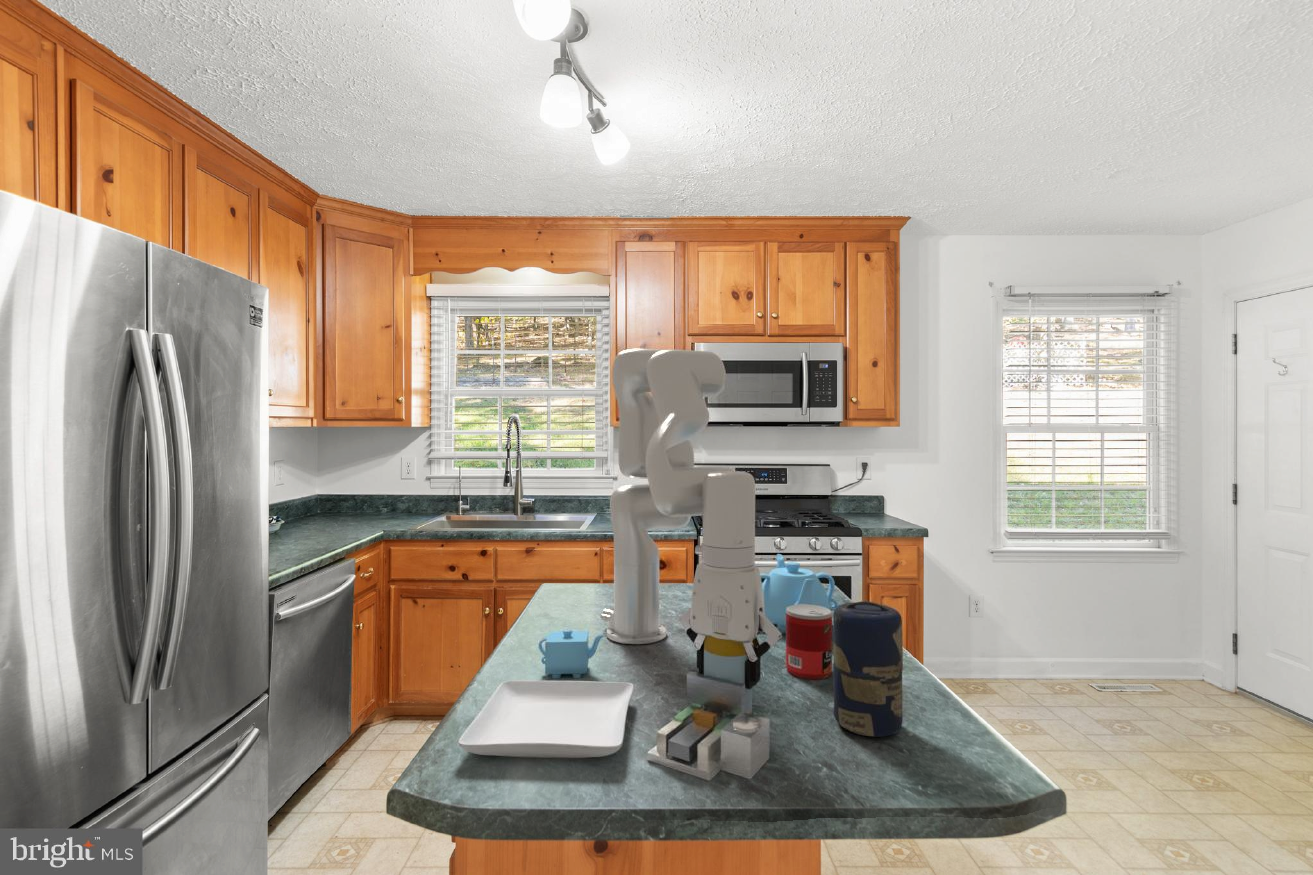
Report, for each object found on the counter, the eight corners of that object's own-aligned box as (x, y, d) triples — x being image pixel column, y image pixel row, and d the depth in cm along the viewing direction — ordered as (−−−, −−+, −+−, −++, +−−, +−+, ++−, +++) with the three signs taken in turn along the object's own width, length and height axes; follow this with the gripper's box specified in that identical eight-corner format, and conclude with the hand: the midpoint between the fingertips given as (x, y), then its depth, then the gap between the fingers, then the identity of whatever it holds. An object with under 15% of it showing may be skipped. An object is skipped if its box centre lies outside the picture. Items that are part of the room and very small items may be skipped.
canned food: (833, 681, 106) (833, 617, 106) (785, 677, 107) (785, 614, 107) (830, 665, 113) (830, 605, 113) (785, 662, 115) (785, 602, 115)
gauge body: (647, 760, 80) (647, 718, 80) (688, 727, 89) (688, 690, 89) (740, 791, 73) (740, 745, 73) (774, 752, 82) (774, 712, 82)
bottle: (757, 710, 91) (758, 608, 91) (744, 730, 85) (745, 621, 85) (713, 701, 94) (713, 602, 94) (696, 720, 88) (697, 615, 88)
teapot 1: (607, 665, 113) (607, 624, 113) (606, 678, 107) (606, 634, 107) (540, 667, 112) (540, 625, 112) (536, 680, 106) (536, 636, 106)
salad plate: (501, 698, 99) (501, 677, 99) (634, 701, 98) (634, 679, 98) (453, 769, 78) (454, 742, 78) (622, 773, 77) (622, 746, 77)
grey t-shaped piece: (650, 748, 80) (650, 697, 80) (690, 717, 89) (691, 671, 89) (708, 767, 75) (708, 713, 75) (744, 732, 84) (745, 683, 84)
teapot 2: (778, 610, 149) (778, 552, 149) (853, 628, 135) (853, 564, 135) (736, 624, 138) (736, 561, 138) (812, 645, 124) (812, 575, 124)
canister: (895, 749, 83) (895, 614, 83) (824, 731, 88) (824, 604, 88) (908, 721, 91) (908, 598, 91) (843, 706, 96) (843, 590, 96)
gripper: (663, 554, 91) (663, 676, 91) (775, 568, 82) (775, 703, 82) (688, 546, 97) (688, 660, 97) (795, 559, 88) (794, 684, 88)
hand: (727, 679), depth 90 cm, fingers closed on bottle, 6 cm apart
